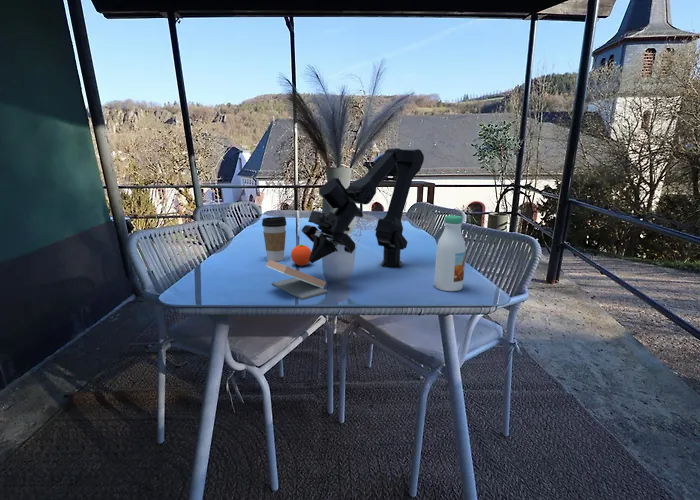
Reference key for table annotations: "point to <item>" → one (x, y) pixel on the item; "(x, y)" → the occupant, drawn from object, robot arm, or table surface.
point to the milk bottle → (450, 256)
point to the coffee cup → (274, 237)
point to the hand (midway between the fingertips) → (310, 262)
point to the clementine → (301, 255)
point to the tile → (295, 274)
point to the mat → (299, 288)
